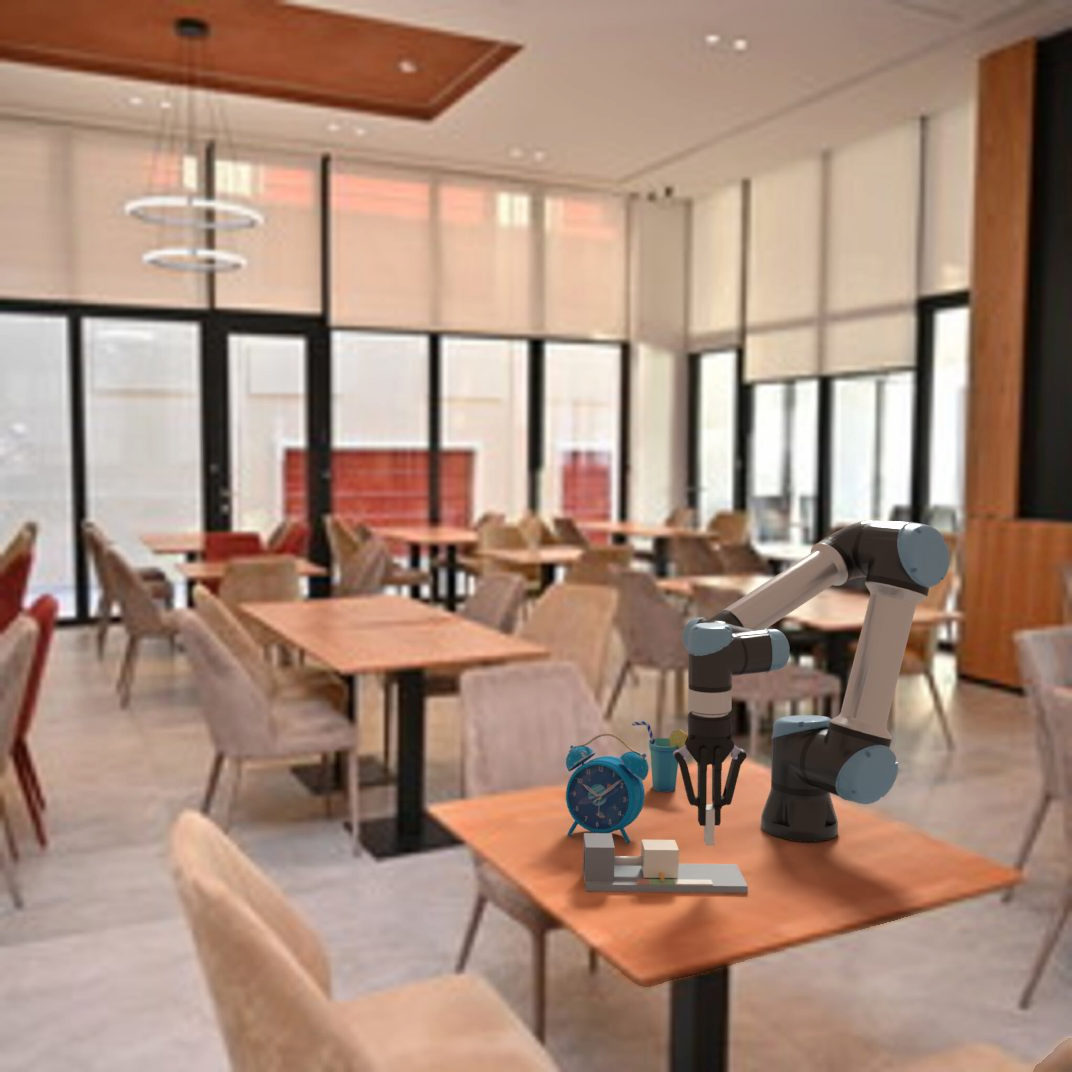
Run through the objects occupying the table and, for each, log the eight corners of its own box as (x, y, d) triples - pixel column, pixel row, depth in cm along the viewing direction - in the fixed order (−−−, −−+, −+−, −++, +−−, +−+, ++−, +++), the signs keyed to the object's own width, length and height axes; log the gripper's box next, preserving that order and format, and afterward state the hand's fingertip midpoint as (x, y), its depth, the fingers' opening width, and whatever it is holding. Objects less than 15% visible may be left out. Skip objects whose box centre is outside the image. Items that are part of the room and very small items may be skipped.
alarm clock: (555, 838, 209) (556, 738, 207) (571, 822, 218) (573, 726, 217) (638, 850, 203) (640, 747, 201) (651, 833, 213) (653, 734, 211)
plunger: (674, 867, 191) (674, 839, 191) (679, 882, 184) (680, 854, 184) (596, 866, 191) (596, 839, 191) (598, 881, 184) (599, 853, 184)
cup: (625, 788, 241) (626, 723, 240) (636, 779, 248) (638, 715, 247) (684, 797, 235) (686, 730, 234) (694, 787, 242) (696, 722, 241)
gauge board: (736, 870, 194) (737, 831, 193) (747, 892, 184) (748, 852, 183) (582, 868, 194) (583, 830, 193) (585, 891, 184) (586, 850, 183)
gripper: (742, 706, 190) (741, 834, 192) (669, 707, 190) (669, 835, 192) (751, 717, 183) (750, 850, 185) (675, 717, 183) (675, 851, 185)
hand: (709, 842), depth 189 cm, fingers closed
